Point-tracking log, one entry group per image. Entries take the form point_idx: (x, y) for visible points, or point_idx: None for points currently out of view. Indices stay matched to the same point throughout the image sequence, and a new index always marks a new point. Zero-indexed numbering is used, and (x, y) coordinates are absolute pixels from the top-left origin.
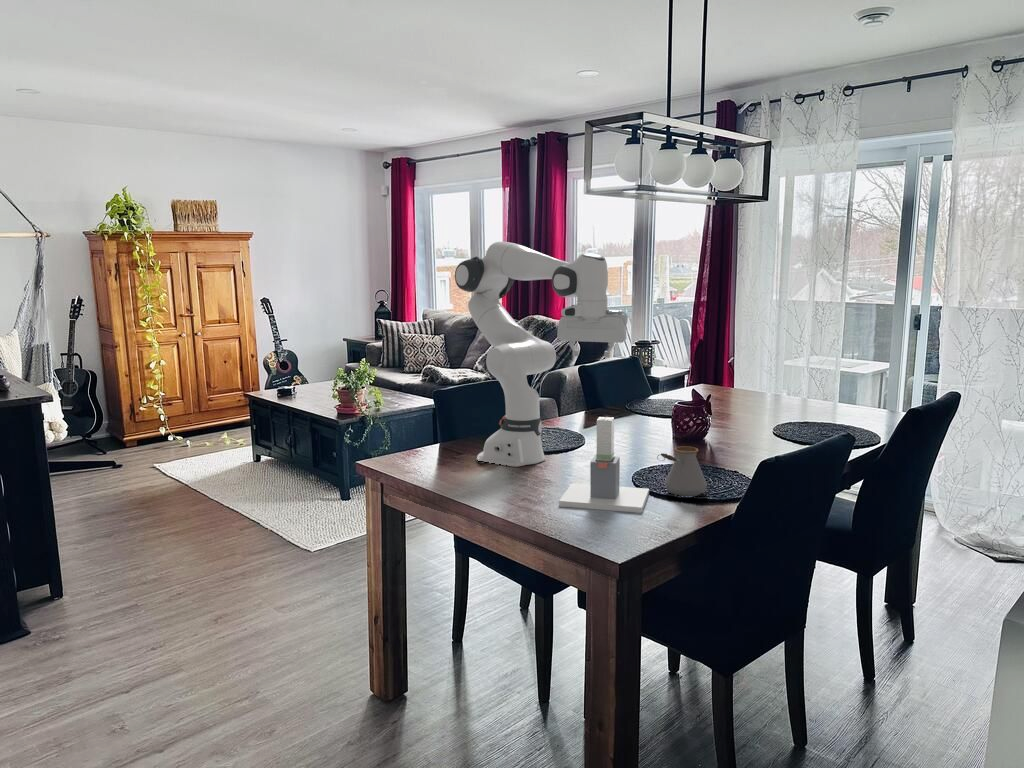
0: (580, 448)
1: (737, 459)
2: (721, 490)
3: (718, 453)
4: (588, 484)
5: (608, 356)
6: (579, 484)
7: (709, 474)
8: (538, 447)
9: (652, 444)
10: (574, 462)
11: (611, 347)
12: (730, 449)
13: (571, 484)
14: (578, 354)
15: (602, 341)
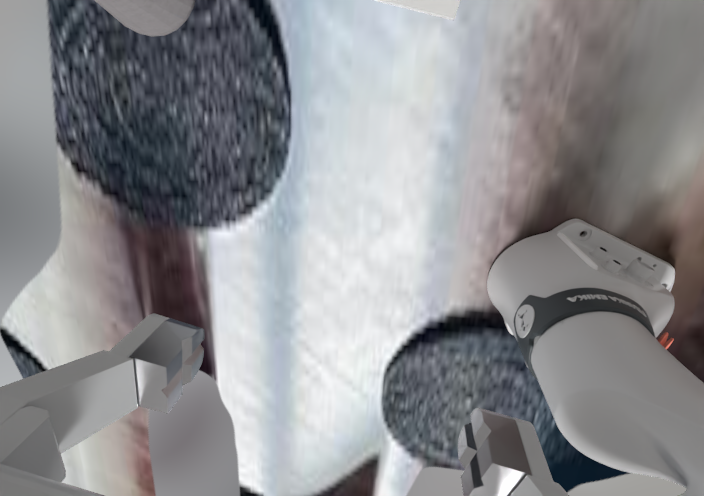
0: (396, 344)
1: (88, 251)
2: (81, 13)
3: (127, 291)
4: (407, 4)
5: (154, 317)
6: (433, 3)
7: (125, 148)
8: (517, 276)
9: (251, 354)
10: (419, 250)
11: (27, 382)
12: (110, 312)
13: (457, 2)
14: (462, 444)
15: (64, 493)
